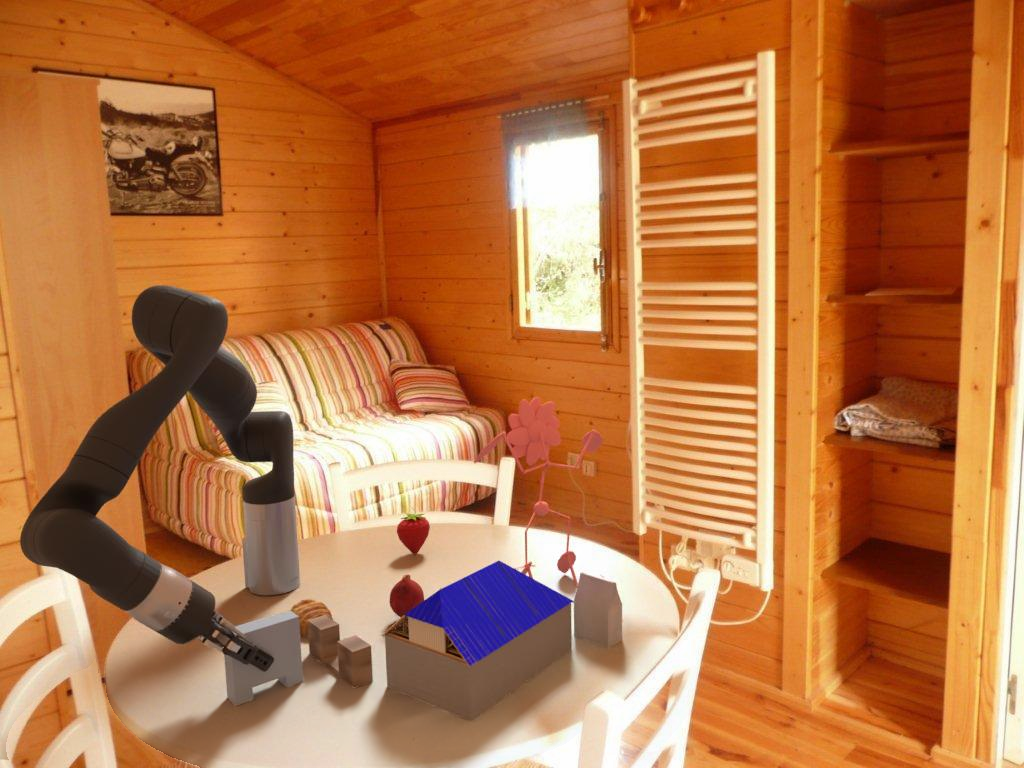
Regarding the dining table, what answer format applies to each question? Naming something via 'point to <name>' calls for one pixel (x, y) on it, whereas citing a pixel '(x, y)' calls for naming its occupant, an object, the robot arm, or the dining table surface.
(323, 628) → the walnut blocks
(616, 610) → the grey house-shaped block
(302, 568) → the dining table surface
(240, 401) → the robot arm
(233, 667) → the grey notched square slab
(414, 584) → the onion
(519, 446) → the figurine
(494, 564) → the house
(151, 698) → the dining table surface
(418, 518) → the strawberry
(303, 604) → the pastry
